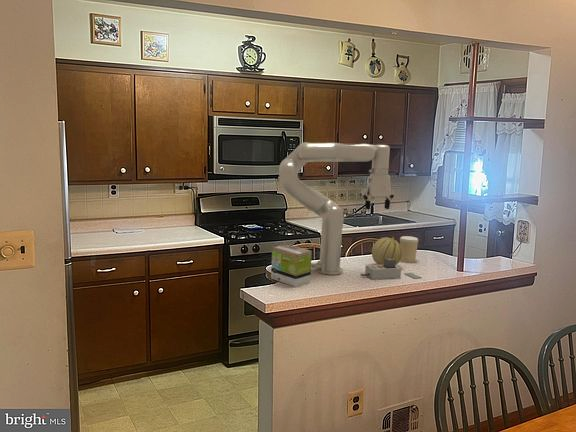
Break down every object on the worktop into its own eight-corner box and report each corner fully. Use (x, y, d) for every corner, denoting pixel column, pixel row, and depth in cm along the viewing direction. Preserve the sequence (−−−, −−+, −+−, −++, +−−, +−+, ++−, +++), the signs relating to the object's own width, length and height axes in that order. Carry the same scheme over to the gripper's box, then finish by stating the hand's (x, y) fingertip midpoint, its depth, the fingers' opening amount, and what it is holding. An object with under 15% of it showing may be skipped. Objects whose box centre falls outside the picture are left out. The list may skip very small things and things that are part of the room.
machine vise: (364, 280, 241) (365, 269, 240) (357, 275, 248) (357, 264, 247) (400, 278, 246) (401, 267, 245) (392, 273, 254) (392, 262, 253)
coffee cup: (419, 260, 280) (421, 237, 278) (413, 264, 272) (414, 240, 270) (401, 257, 285) (403, 235, 283) (395, 260, 277) (397, 238, 275)
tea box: (270, 279, 236) (271, 246, 234) (285, 275, 244) (286, 243, 241) (295, 287, 226) (297, 253, 224) (311, 283, 234) (312, 249, 231)
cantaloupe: (364, 265, 266) (366, 235, 264) (385, 261, 275) (387, 232, 272) (386, 272, 255) (389, 241, 252) (407, 268, 263) (409, 238, 261)
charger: (386, 275, 246) (387, 260, 245) (382, 272, 250) (383, 258, 249) (394, 274, 247) (395, 260, 246) (390, 272, 251) (391, 257, 250)
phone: (414, 280, 246) (414, 278, 246) (403, 275, 253) (404, 273, 253) (421, 279, 248) (421, 277, 247) (410, 274, 255) (411, 272, 255)
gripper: (366, 172, 240) (363, 210, 243) (400, 173, 245) (397, 210, 248) (359, 171, 247) (356, 207, 250) (392, 171, 252) (390, 207, 255)
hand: (377, 208), depth 249 cm, fingers open, 9 cm apart
